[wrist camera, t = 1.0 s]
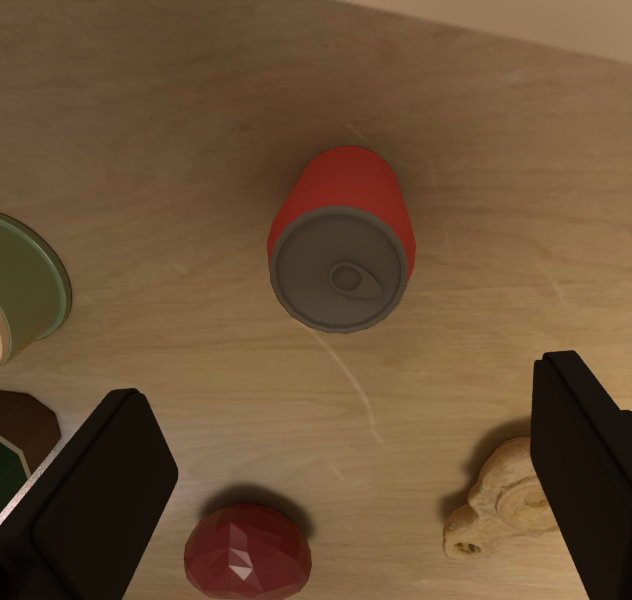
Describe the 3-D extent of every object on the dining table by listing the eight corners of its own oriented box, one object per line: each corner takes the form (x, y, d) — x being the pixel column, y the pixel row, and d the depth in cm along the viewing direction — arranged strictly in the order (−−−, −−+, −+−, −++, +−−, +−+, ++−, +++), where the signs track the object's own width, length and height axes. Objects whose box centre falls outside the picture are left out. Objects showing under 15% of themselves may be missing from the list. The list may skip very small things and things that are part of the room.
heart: (178, 482, 41) (207, 534, 47) (148, 571, 35) (185, 619, 40) (303, 479, 40) (317, 533, 45) (295, 571, 33) (312, 621, 39)
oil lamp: (432, 521, 41) (440, 575, 37) (455, 406, 35) (469, 455, 30) (547, 532, 40) (570, 588, 36) (594, 416, 34) (629, 467, 29)
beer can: (367, 262, 30) (370, 367, 19) (280, 219, 29) (232, 304, 18) (419, 175, 27) (456, 242, 16) (324, 124, 26) (296, 160, 15)
